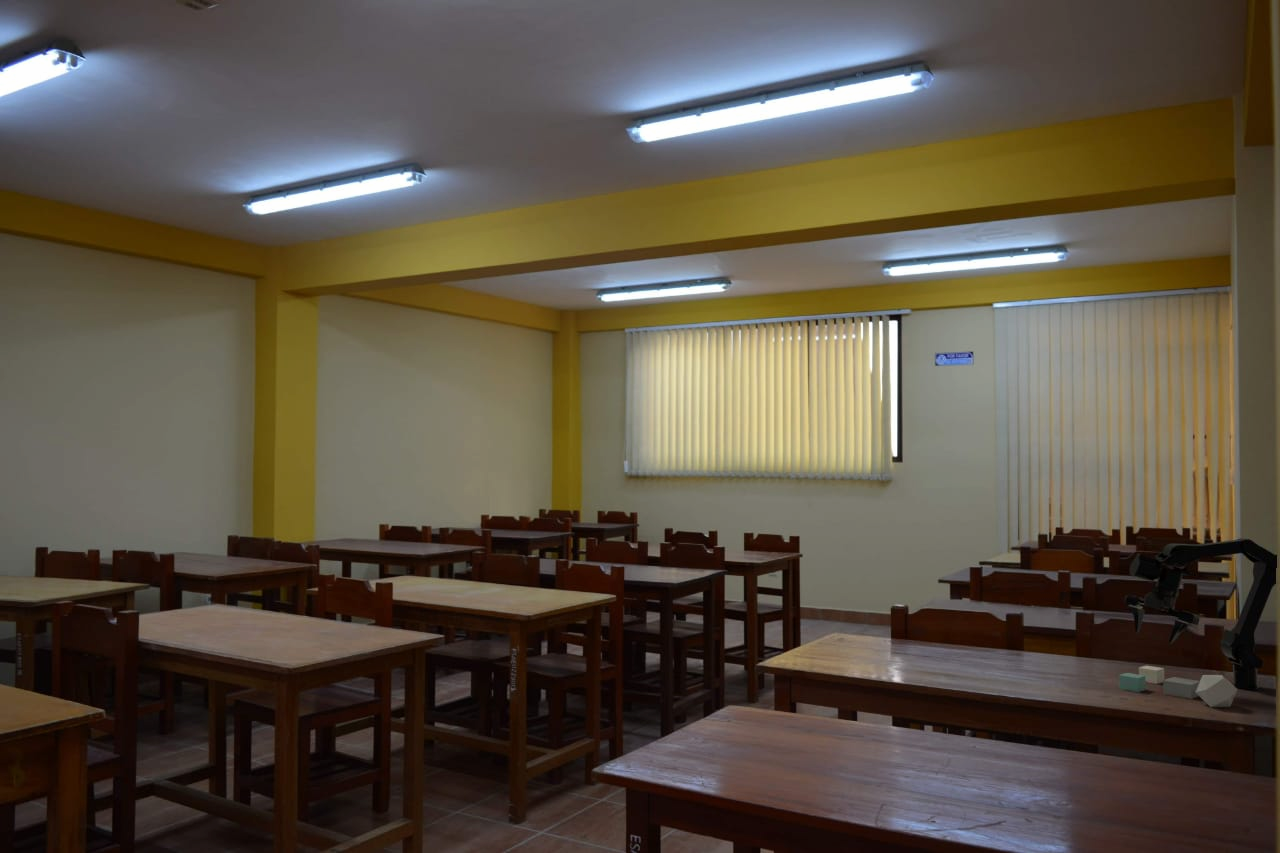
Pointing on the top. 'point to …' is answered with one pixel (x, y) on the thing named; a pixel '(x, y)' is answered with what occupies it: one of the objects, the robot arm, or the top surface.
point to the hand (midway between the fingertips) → (1153, 638)
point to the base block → (1180, 687)
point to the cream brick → (1152, 674)
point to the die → (1216, 691)
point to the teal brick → (1132, 682)
